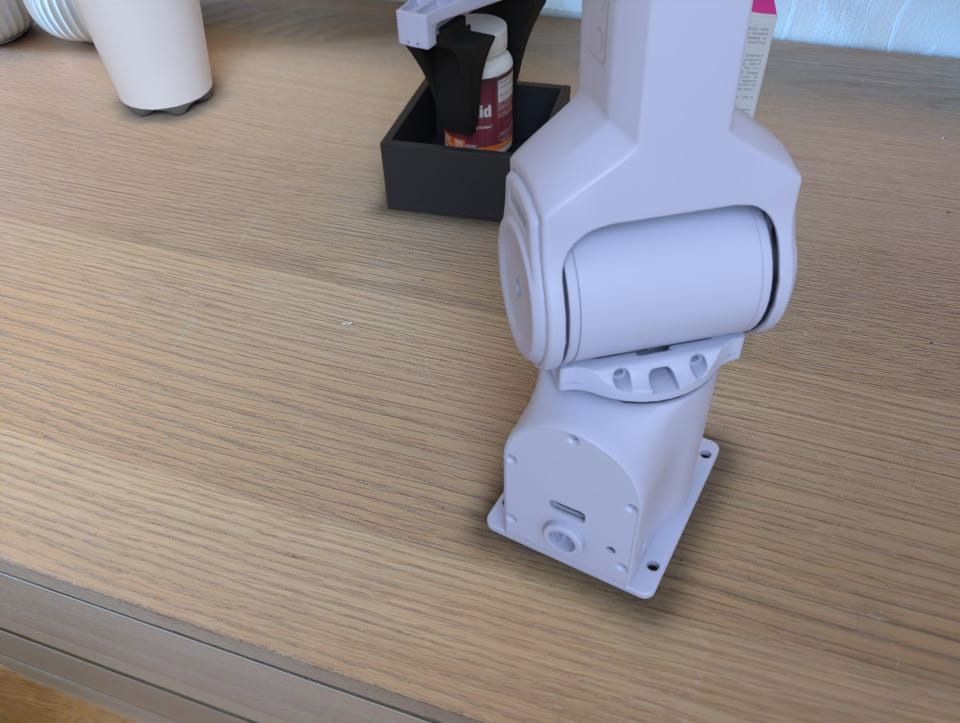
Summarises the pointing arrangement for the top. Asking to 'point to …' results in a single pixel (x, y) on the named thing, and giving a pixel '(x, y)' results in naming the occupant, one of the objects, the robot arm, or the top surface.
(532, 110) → the open storage bin
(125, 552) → the top surface
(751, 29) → the supplement box
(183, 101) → the cup
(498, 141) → the pill bottle
